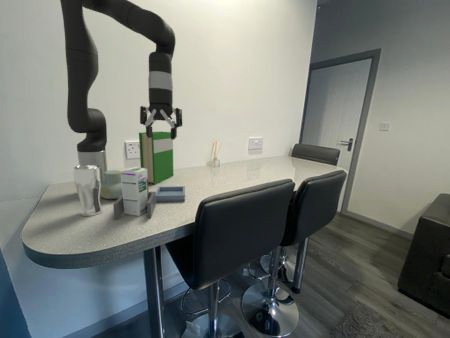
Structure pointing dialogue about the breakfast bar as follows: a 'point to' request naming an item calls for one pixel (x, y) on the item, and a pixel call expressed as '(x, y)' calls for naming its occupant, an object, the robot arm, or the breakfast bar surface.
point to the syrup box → (135, 190)
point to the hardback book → (157, 156)
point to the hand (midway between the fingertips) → (161, 138)
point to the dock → (120, 205)
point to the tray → (170, 194)
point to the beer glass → (88, 189)
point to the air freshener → (111, 185)
